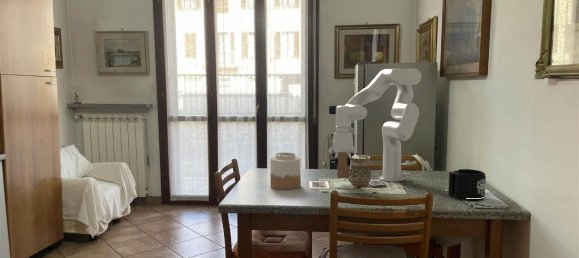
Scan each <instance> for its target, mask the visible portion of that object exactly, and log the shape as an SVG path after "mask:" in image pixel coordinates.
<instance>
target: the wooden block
mask: <svg viewBox="0 0 579 258" xmlns="http://www.w3.org/2000/svg"><path fill="white" fill-rule="evenodd" d="M337 157H338V166H336V167H337V168H336V169H337V170H336V176H337V178H339V179H350V178H349V172H350V167H351V166H350V165H349V166H348V165H347V158H348V154H347V152H338V156H337Z"/></svg>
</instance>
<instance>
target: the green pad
mask: <svg viewBox="0 0 579 258" xmlns="http://www.w3.org/2000/svg"><path fill="white" fill-rule="evenodd" d="M332 185H333V187H334V189H354V186H353V184H352V183H351V182H350V181H332Z"/></svg>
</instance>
